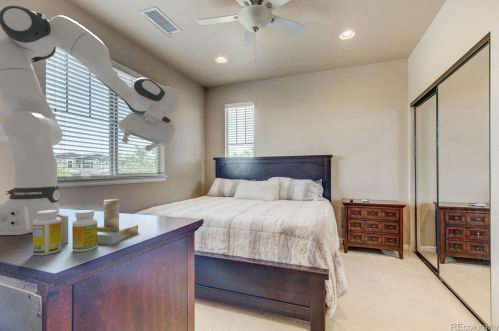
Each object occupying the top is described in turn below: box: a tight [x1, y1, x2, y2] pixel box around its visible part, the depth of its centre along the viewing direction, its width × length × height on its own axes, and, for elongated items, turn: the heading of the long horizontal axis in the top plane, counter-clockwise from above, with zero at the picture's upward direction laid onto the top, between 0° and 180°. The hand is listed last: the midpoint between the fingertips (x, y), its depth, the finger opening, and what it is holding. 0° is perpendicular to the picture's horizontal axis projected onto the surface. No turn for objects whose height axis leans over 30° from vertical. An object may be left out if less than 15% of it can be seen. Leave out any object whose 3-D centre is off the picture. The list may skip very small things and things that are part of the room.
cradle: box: [97, 224, 139, 241], centre depth 76 cm, size 9×10×4 cm
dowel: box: [103, 198, 120, 229], centre depth 75 cm, size 4×4×11 cm
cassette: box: [57, 212, 69, 245], centre depth 72 cm, size 12×2×8 cm, turn 54°
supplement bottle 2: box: [71, 209, 98, 253], centre depth 64 cm, size 5×5×10 cm
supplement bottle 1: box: [32, 210, 63, 257], centre depth 62 cm, size 6×6×10 cm
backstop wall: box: [97, 231, 121, 246], centre depth 70 cm, size 3×12×2 cm, turn 76°
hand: (135, 146), depth 92 cm, fingers open, 8 cm apart
